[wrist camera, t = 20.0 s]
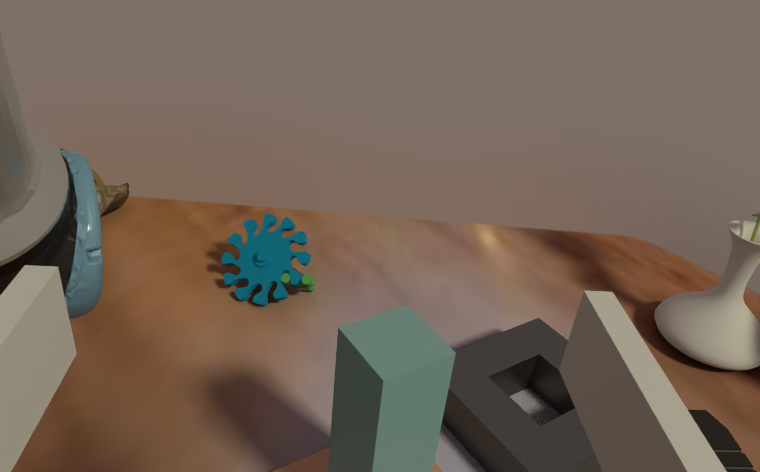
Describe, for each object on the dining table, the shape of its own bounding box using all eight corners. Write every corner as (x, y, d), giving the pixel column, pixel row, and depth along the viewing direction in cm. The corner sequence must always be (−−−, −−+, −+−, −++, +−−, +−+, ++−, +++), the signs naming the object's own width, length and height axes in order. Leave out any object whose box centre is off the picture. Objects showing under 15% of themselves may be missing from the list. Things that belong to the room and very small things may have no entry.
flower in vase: (743, 398, 59) (873, 158, 46) (631, 338, 65) (718, 113, 53) (781, 341, 67) (900, 125, 54) (679, 293, 74) (763, 89, 61)
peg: (326, 499, 45) (338, 327, 36) (383, 471, 47) (407, 305, 39) (361, 556, 41) (383, 380, 33) (421, 523, 44) (455, 352, 35)
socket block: (419, 396, 55) (424, 362, 53) (529, 348, 62) (538, 317, 60) (529, 519, 45) (541, 484, 43) (646, 446, 52) (661, 413, 50)
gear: (200, 273, 66) (253, 196, 67) (227, 285, 71) (275, 214, 72) (277, 326, 61) (332, 243, 63) (299, 335, 67) (349, 259, 68)
